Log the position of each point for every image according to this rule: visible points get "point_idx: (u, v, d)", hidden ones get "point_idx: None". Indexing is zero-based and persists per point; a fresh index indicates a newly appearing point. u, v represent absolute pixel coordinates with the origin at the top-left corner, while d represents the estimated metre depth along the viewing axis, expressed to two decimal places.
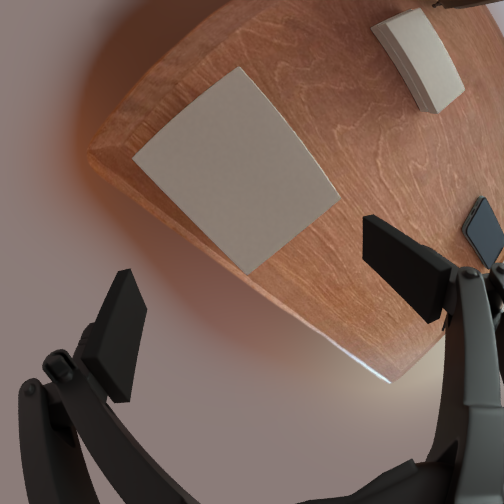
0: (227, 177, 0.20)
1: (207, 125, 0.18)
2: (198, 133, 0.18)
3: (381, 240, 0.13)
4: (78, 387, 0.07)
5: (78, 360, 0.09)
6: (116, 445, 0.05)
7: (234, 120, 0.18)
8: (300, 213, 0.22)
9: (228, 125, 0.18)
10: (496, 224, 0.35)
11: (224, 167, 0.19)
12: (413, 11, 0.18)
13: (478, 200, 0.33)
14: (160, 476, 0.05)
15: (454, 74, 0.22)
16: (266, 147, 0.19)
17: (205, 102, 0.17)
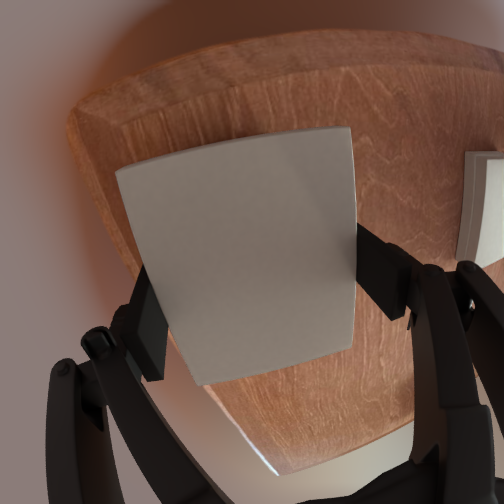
0: (239, 275, 0.13)
1: (256, 187, 0.11)
2: (236, 192, 0.11)
3: None
4: (116, 365, 0.08)
5: None
6: (148, 425, 0.06)
7: (296, 202, 0.12)
8: (299, 349, 0.16)
9: (285, 205, 0.12)
10: None
11: (243, 260, 0.13)
12: None
13: None
14: (190, 460, 0.05)
15: None
16: (313, 261, 0.13)
17: (275, 150, 0.11)
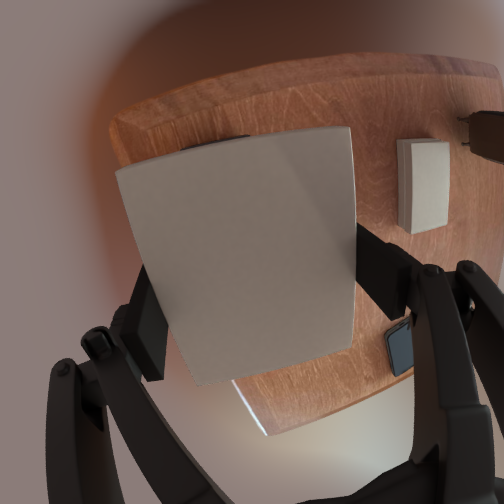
0: (239, 275, 0.13)
1: (256, 188, 0.11)
2: (236, 192, 0.11)
3: None
4: (116, 365, 0.08)
5: None
6: (148, 425, 0.06)
7: (296, 202, 0.12)
8: (299, 349, 0.16)
9: (285, 205, 0.12)
10: None
11: (243, 260, 0.13)
12: (441, 143, 0.28)
13: None
14: (190, 460, 0.05)
15: (445, 208, 0.32)
16: (313, 260, 0.13)
17: (275, 150, 0.11)
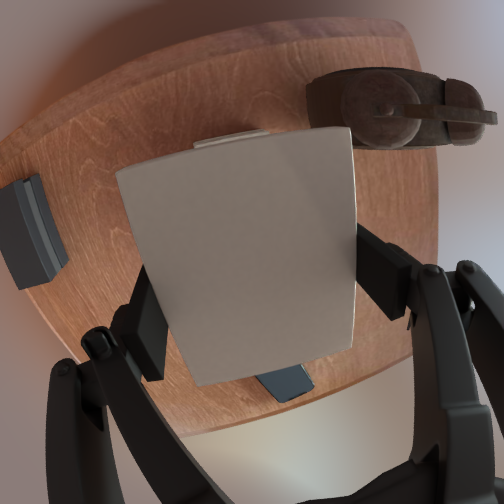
0: (239, 276, 0.13)
1: (256, 188, 0.11)
2: (236, 193, 0.11)
3: None
4: (116, 365, 0.08)
5: None
6: (148, 426, 0.06)
7: (296, 203, 0.12)
8: (299, 350, 0.16)
9: (285, 206, 0.12)
10: (299, 371, 0.44)
11: (243, 261, 0.13)
12: (252, 134, 0.26)
13: None
14: (190, 460, 0.05)
15: None
16: (313, 261, 0.13)
17: (275, 151, 0.11)
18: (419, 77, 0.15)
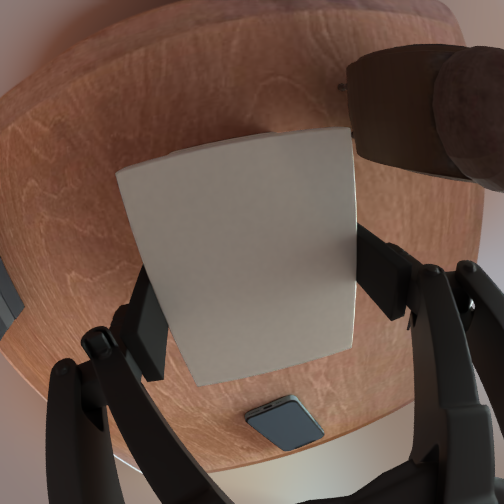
0: (239, 276, 0.13)
1: (256, 189, 0.11)
2: (236, 193, 0.11)
3: None
4: (116, 365, 0.08)
5: None
6: (148, 425, 0.06)
7: (296, 203, 0.12)
8: (299, 350, 0.16)
9: (285, 206, 0.12)
10: (308, 423, 0.35)
11: (243, 261, 0.13)
12: None
13: (283, 399, 0.32)
14: (190, 460, 0.05)
15: None
16: (313, 261, 0.13)
17: (275, 151, 0.11)
18: None
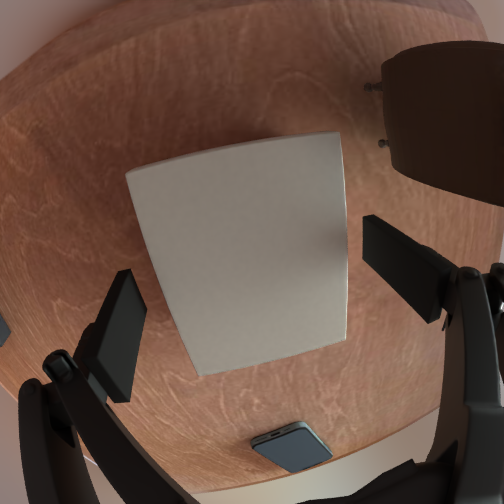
0: (238, 269, 0.14)
1: (253, 188, 0.13)
2: (235, 192, 0.12)
3: (381, 240, 0.13)
4: (78, 387, 0.07)
5: (78, 360, 0.09)
6: (116, 445, 0.05)
7: (290, 201, 0.13)
8: (295, 341, 0.17)
9: (280, 204, 0.13)
10: (317, 447, 0.31)
11: (242, 255, 0.14)
12: None
13: (292, 426, 0.29)
14: (160, 476, 0.05)
15: None
16: (307, 255, 0.14)
17: (270, 154, 0.12)
18: None
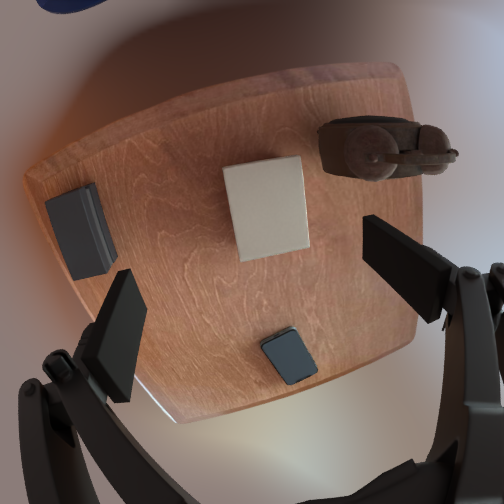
0: (262, 206, 0.36)
1: (268, 176, 0.35)
2: (262, 177, 0.35)
3: (381, 240, 0.13)
4: (78, 387, 0.07)
5: (78, 360, 0.09)
6: (116, 445, 0.05)
7: (281, 181, 0.35)
8: (285, 244, 0.39)
9: (278, 182, 0.35)
10: (305, 354, 0.53)
11: (263, 201, 0.36)
12: None
13: (287, 329, 0.51)
14: (160, 476, 0.05)
15: None
16: (288, 203, 0.37)
17: (274, 164, 0.34)
18: (400, 128, 0.24)
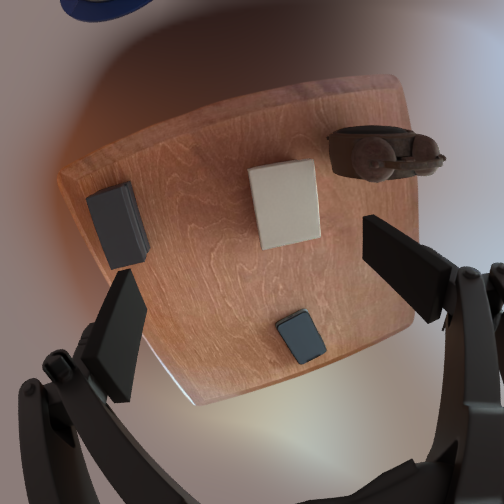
0: (281, 202, 0.43)
1: (287, 176, 0.41)
2: (281, 178, 0.41)
3: (381, 240, 0.13)
4: (78, 387, 0.07)
5: (78, 361, 0.09)
6: (115, 445, 0.05)
7: (298, 181, 0.42)
8: (300, 234, 0.45)
9: (295, 182, 0.41)
10: (315, 335, 0.60)
11: (282, 198, 0.42)
12: None
13: (300, 311, 0.57)
14: (160, 476, 0.05)
15: None
16: (303, 199, 0.43)
17: (292, 166, 0.40)
18: (397, 138, 0.30)
